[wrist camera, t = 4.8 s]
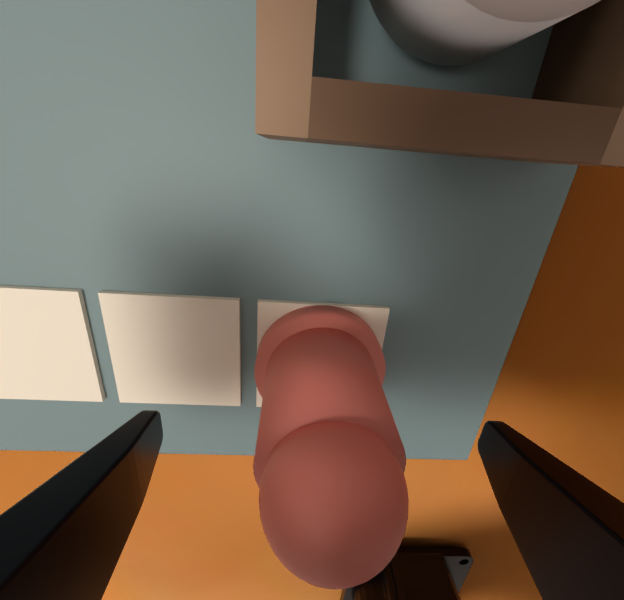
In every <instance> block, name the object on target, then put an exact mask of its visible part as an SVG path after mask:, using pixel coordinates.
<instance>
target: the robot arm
mask: <svg viewBox="0 0 624 600" xmlns="http://www.w3.org/2000/svg"><path fill="white" fill-rule="evenodd" d="M162 440H163V429H162V422H161V415H160V412H159V411H157V410H143V411H141V412H139V413H138V414H137V415H135V416H134V417H132V418H131V419H130V420H128V421H127V422H126V423H124V424H123V425H122V426H120V427H119V428H118V429H116V430H115V431H114V432H112V433H111V434H109V435H108V436H107V437H105V438H104V439H103V440H101V441H100V442H99V443H97V444H96V445H95V446H93V447H92V448H91V449H89V450H88V451H86V452H85V453H84V454H82V455H81V456H80V457H78V458H77V459H76V460H74V461H73V462H72V463H70V464H69V465H68V466H66V467H65V468H63V469H62V470H61V471H59V472H58V473H57V474H55V475H54V476H53V477H51V478H50V479H49V480H47V481H46V482H45V483H43V484H42V485H40V486H39V487H38V488H36V489H35V490H34V491H32V492H31V493H30V494H28V495H27V496H26V497H24V498H23V499H22V500H20V501H19V502H17V503H16V504H15V505H13V506H12V507H11V508H9V509H8V510H7V511H5V512H4V513H3V514H1V515H0V600H101V599H102V597H103V594H104V592H105V590H106V587H107V585H108V583H109V580H110V578H111V576H112V574H113V571H114V569H115V567H116V564H117V562H118V560H119V557H120V555H121V553H122V550H123V548H124V546H125V543H126V541H127V539H128V536H129V534H130V532H131V529H132V527H133V525H134V523H135V520H136V518H137V516H138V513H139V511H140V508H141V506H142V503H143V501H144V498H145V495H146V492H147V489H148V486H149V482H150V479H151V476H152V473H153V470H154V467H155V463H156V460H157V457H158V454H159V451H160V447H161V444H162ZM478 451H479V454H480V456H481V459H482V462H483V465H484V467H485V470H486V473H487V475H488V478H489V481H490V484H491V486H492V489H493V492H494V495H495V497H496V500H497V502H498V505H499V507H500V509H501V512H502V514H503V516H504V518H505V520H506V523H507V525H508V527H509V529H510V531H511V533H512V535H513V537H514V540H515V542H516V544H517V546H518V548H519V550H520V552H521V554H522V556H523V559H524V561H525V563H526V565H527V567H528V569H529V571H530V573H531V576H532V578H533V580H534V582H535V584H536V586H537V588H538V590H539V592H540V595H541V597H542V599H543V600H624V503H623V502H621V501H620V500H618V499H617V498H615V497H614V496H612V495H611V494H609V493H608V492H606V491H605V490H603V489H602V488H600V487H599V486H597V485H596V484H594V483H593V482H591V481H590V480H588V479H587V478H586V477H584V476H583V475H581V474H580V473H578V472H577V471H575V470H574V469H572V468H571V467H569V466H568V465H566V464H565V463H563V462H562V461H560V460H559V459H557V458H556V457H554V456H553V455H551V454H550V453H548V452H547V451H545V450H544V449H542V448H541V447H539V446H538V445H537V444H535V443H534V442H532V441H531V440H529V439H528V438H526V437H525V436H523V435H522V434H520V433H519V432H517V431H516V430H514V429H513V428H511V427H510V426H508V425H507V424H505V423H504V422H501V421H487V422H486V423H485V425H484V427H483V430H482V433H481V435H480V438H479V440H478ZM472 563H473V558H472V555H471V553H470V551H469V550H468V549H466V548H398V550H397V552H396V554H395V555H394V557H393V558H392V560H391V561H390V562H389V563H388V565H387V566H386V567H385V568H384V569H383V570H382V571H381V572H380V573H378V574H377V575H376V576H375V577H373V578H372V579H370V580H369V581H367V582H365V583H363V584H360V585H357V586H354V587H351V588H346V589H343V591H342V595H341V600H461V598H460V596H459V591H460V589H461V587H462V585H463V582H464V580H465V578H466V576H467V574H468V572H469V570H470V568H471V565H472Z"/></svg>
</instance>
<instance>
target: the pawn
mask: <svg viewBox="0 0 624 600" xmlns="http://www.w3.org/2000/svg"><path fill="white" fill-rule="evenodd" d="M385 371H386V366H385V358H384V355H383V352H382V349H381V347H380V344H379V342H378V340H377V337H376V335H375V334H374V332H373V330H372V329H371V328H370V326H369V325H368V324H367V323H366V322H365V321H364V320H363V319H362V318H360V317H359V316H357V315H356V314H354V313H352V312H350V311H348V310H345V309H343V308H339V307H335V306H328V305H314V306H306V307H302V308H299V309H296V310H293V311H291V312H289V313H287V314H285V315H283V316H282V317H280V318H279V319H278V320H276V321H275V322H274V323H273V324H272V325H271V326H270V327H269V328H268V330H267V331H266V332H265V334H264V336H263V337H262V339H261V342H260V344H259V348H258V352H257V357H256V362H255V369H254V375H255V382H256V386H257V389H258V391H259V393H260V395H261V397H262V398H263V399H262V407H261V414H260V421H259V428H258V435H257V442H256V450H255V457H254V465H253V469H254V476H255V480H256V482H257V484H258V487H259V488H260V490H259V508H260V517H261V521H262V526H263V529H264V533H265V535H266V538H267V540H268V542H269V544H270V546H271V548H272V550H273V551H274V553H275V555H276V556H277V557H278V559H279V560H280V561H281V562H282V563H283V565H284V566H285V567H286V568H287V569H288V570H289V571H291V572H292V573H293V574H294V575H295V576H297V577H298V578H300V579H302V580H304V581H306V582H307V583H309V584H312V585H314V586H317V587H322V588H327V589H346V588H351V587H354V586H357V585H360V584H363V583H365V582H367V581H369V580H370V579H372V578H373V577H375V576H376V575H377V574H378V573H380V572H381V571H382V570H383V569H384V568H385V567H386V566H387V565H388V563H389V562H390V561H391V560H392V558H393V557H394V555H395V554H396V552H397V550H398V548H399V546H400V544H401V542H402V539H403V536H404V533H405V529H406V524H407V519H408V491H407V486H406V481H405V477H404V474H403V473H404V470H405V465H406V454H405V449H404V446H403V443H402V440H401V438H400V435H399V432H398V429H397V427H396V424H395V421H394V418H393V415H392V413H391V410H390V407H389V404H388V402H387V399H386V396H385V393H384V391H383V388H382V385H383V381H384V378H385Z"/></svg>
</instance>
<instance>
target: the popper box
mask: <svg viewBox="0 0 624 600" xmlns="http://www.w3.org/2000/svg"><path fill="white" fill-rule="evenodd" d="M316 6H317V0H256V104H255V134H258V135H260V136H262V137H265V138H267V139H275V140H286V141H297V142H309V143H320V144H331V145H343V146H354V147H365V148H377V149H388V150H399V151H411V152H422V153H433V154H445V155H456V156H467V157H479V158H490V159H501V160H513V161H524V162H535V163H547V164H568V165H588V166H609V167H624V0H601V1H599V2H597V3H596V4H594V5H592V6H590V7H588V8H586V9H584V10H582V11H580V12H578V13H576V14H574V15H572V16H570V17H568V18H566V19H564V20H562V21H560V22H558V23H556V24H554V25H553V28H552V32H551V35H550V38H549V42H548V45H547V48H546V52H545V55H544V58H543V62H542V65H541V68H540V72H539V75H538V78H537V82H536V85H535V88H534V92H533V95H532V98H531V99H527V98H517V97H508V96H498V95H488V94H478V93H469V92H459V91H449V90H439V89H430V88H420V87H410V86H400V85H391V84H381V83H371V82H361V81H351V80H342V79H332V78H322V77H312V67H313V52H314V37H315V22H316Z"/></svg>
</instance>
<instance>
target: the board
mask: <svg viewBox="0 0 624 600" xmlns="http://www.w3.org/2000/svg"><path fill="white" fill-rule="evenodd" d="M552 28H553V25H552V26H550V27H548V28H546V29H544V30H542V31H539V32H537V33H535V34H533V35H531V36H529V37H527V38H525V39H523V40H521V41H519V42H517V43H515V44H513V45H511V46H509V47H507V48H505V49H503V50H501V51H499V52H497V53H495V54H493V55H491V56H488V57H486V58H484V59H482V60H479V61H476V62H473V63H469V64H464V65H457V66H442V65H437V64H431V63H428V62H425V61H423V60H420V59H418V58H416V57H414V56H412V55H411V54H409V53H407V52H406V51H405V50H403V49H402V48H401V47H400V46H398V45H397V44H396V43H395V42H394V40H393V39H392V38H391V37H390V36H389V35H388V34H387V32H386V31H385V30H384V28H383V27H382V25H381V24H380V22H379V20H378V18H377V16H376V15H375V13H374V11H373V9H372V6H371V3H370V1H369V0H317V6H316V22H315V37H314V52H313V67H312V77H322V78H332V79H342V80H351V81H361V82H371V83H381V84H391V85H400V86H410V87H420V88H430V89H439V90H449V91H459V92H469V93H478V94H488V95H498V96H508V97H517V98H527V99H531V98H532V95H533V92H534V88H535V85H536V82H537V78H538V75H539V72H540V68H541V65H542V62H543V58H544V55H545V52H546V48H547V45H548V42H549V38H550V35H551V32H552ZM255 104H256V0H0V450H29V451H76V452H86V451H88V450H89V449H91V448H92V447H93V446H95V445H96V444H97V443H99V442H100V441H101V440H103V439H104V438H105V437H107V436H108V435H109V434H111V433H112V432H114V431H115V430H116V429H118V428H119V427H120V426H122V425H123V424H124V423H126V422H127V421H128V420H130V419H131V418H132V417H134V416H135V415H137V414H138V413H139V412H141V411H143V410H157V411H159V412H160V415H161V422H162V429H163V440H162V444H161V447H160V451H159V453H169V454H216V455H255V450H256V442H257V435H258V428H259V421H260V414H261V407H262V399H263V398H262V397H261V395H260V393H259V391H258V389H257V386H256V382H255V375H254V369H255V362H256V357H257V352H258V348H259V344H260V342H261V339H262V337H263V336H264V334H265V332H266V331H267V330H268V328H269V327H270V326H271V325H272V324H273V323H274V322H275V321H276V320H278V319H279V318H280V317H282V316H283V315H285V314H287V313H289V312H291V311H293V310H296V309H299V308H302V307H306V306H314V305H328V306H335V307H339V308H343V309H345V310H348V311H350V312H352V313H354V314H356V315H357V316H359V317H360V318H362V319H363V320H364V321H365V322H366V323H367V324H368V325H369V326H370V328H371V329H372V330H373V332H374V334H375V335H376V337H377V340H378V342H379V344H380V347H381V349H382V352H383V355H384V358H385V366H386V371H385V378H384V381H383V385H382V388H383V391H384V393H385V396H386V399H387V402H388V404H389V407H390V410H391V413H392V415H393V418H394V421H395V424H396V427H397V429H398V432H399V435H400V438H401V440H402V443H403V446H404V449H405V454H406V459H449V460H467V459H468V457H469V454H470V451H471V449H472V446H473V443H474V441H475V438H476V435H477V433H478V430H479V428H480V425H481V422H482V420H483V417H484V414H485V412H486V409H487V406H488V404H489V401H490V398H491V396H492V393H493V390H494V388H495V385H496V383H497V380H498V377H499V375H500V372H501V369H502V367H503V364H504V361H505V359H506V356H507V353H508V351H509V348H510V345H511V343H512V340H513V337H514V335H515V332H516V330H517V327H518V324H519V322H520V319H521V316H522V314H523V311H524V308H525V306H526V303H527V300H528V298H529V295H530V292H531V290H532V287H533V285H534V282H535V279H536V277H537V274H538V271H539V269H540V266H541V263H542V261H543V258H544V255H545V253H546V250H547V247H548V245H549V242H550V240H551V237H552V234H553V232H554V229H555V226H556V224H557V221H558V218H559V216H560V213H561V210H562V208H563V205H564V202H565V200H566V197H567V195H568V192H569V189H570V187H571V184H572V181H573V179H574V176H575V173H576V171H577V168H578V165H568V164H547V163H535V162H524V161H513V160H501V159H490V158H479V157H467V156H456V155H445V154H433V153H422V152H411V151H399V150H388V149H377V148H365V147H354V146H343V145H331V144H320V143H309V142H297V141H286V140H275V139H267V138H265V137H262V136H260V135H258V134H255Z"/></svg>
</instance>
